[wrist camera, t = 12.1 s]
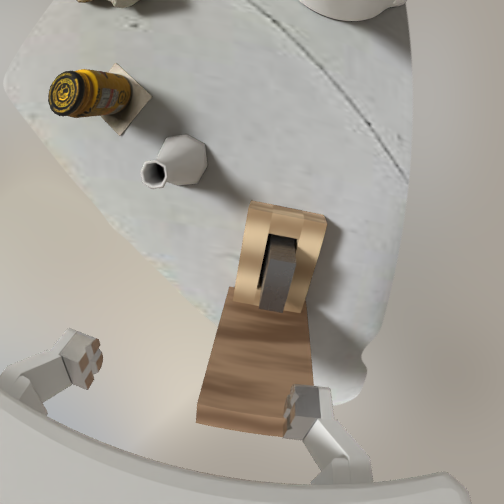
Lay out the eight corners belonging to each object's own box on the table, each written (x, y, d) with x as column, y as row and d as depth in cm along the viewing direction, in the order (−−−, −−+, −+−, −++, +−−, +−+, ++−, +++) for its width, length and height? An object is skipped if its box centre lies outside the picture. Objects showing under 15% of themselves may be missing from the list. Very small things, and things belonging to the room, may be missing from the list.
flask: (213, 138, 37) (192, 146, 28) (203, 190, 40) (181, 213, 31) (162, 129, 37) (127, 136, 28) (154, 180, 40) (121, 200, 31)
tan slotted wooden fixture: (243, 199, 40) (207, 288, 20) (330, 216, 40) (374, 317, 20) (226, 307, 48) (196, 422, 28) (299, 320, 48) (304, 438, 28)
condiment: (116, 62, 32) (64, 53, 22) (152, 96, 35) (106, 93, 24) (86, 101, 35) (32, 105, 24) (120, 135, 37) (70, 147, 26)
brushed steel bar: (272, 229, 41) (270, 258, 33) (293, 233, 41) (296, 263, 33) (262, 272, 45) (258, 308, 36) (282, 276, 45) (282, 313, 36)
